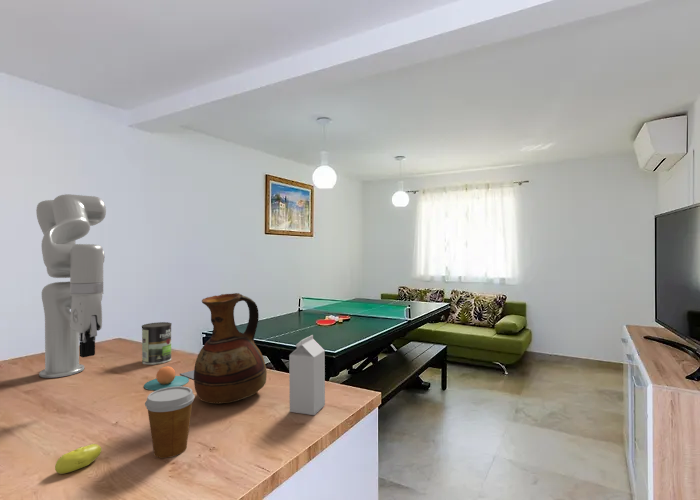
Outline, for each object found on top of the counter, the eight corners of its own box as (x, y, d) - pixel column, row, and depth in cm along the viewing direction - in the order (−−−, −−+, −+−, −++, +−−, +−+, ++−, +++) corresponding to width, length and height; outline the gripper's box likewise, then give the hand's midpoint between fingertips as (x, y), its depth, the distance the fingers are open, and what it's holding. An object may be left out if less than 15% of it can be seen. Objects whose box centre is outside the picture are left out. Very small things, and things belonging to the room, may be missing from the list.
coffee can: (177, 358, 152) (177, 322, 152) (159, 365, 142) (159, 327, 142) (154, 356, 154) (154, 321, 154) (135, 364, 144) (135, 326, 144)
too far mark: (180, 374, 132) (180, 373, 132) (206, 367, 139) (206, 366, 139) (195, 380, 125) (195, 379, 125) (222, 372, 133) (222, 372, 133)
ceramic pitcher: (182, 397, 111) (181, 293, 111) (243, 379, 126) (243, 288, 126) (215, 417, 98) (215, 299, 98) (280, 395, 112) (279, 292, 112)
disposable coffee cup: (156, 440, 86) (156, 386, 86) (200, 438, 86) (200, 384, 86) (136, 463, 76) (136, 403, 76) (186, 461, 77) (185, 401, 77)
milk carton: (325, 405, 104) (324, 335, 105) (314, 416, 98) (313, 341, 98) (301, 402, 107) (301, 333, 107) (289, 412, 100) (289, 339, 100)
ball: (161, 361, 124) (175, 369, 127) (150, 377, 121) (164, 384, 124) (167, 365, 120) (181, 373, 123) (155, 381, 117) (170, 389, 121)
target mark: (136, 384, 122) (136, 383, 122) (176, 373, 132) (176, 373, 132) (155, 393, 114) (155, 392, 114) (196, 381, 124) (196, 381, 124)
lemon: (50, 473, 73) (50, 453, 73) (97, 455, 80) (97, 436, 80) (59, 481, 71) (59, 459, 71) (106, 461, 77) (106, 442, 77)
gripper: (62, 288, 107) (62, 354, 107) (80, 292, 98) (81, 364, 98) (92, 286, 113) (92, 349, 113) (113, 289, 104) (113, 357, 104)
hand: (87, 355), depth 106 cm, fingers closed
